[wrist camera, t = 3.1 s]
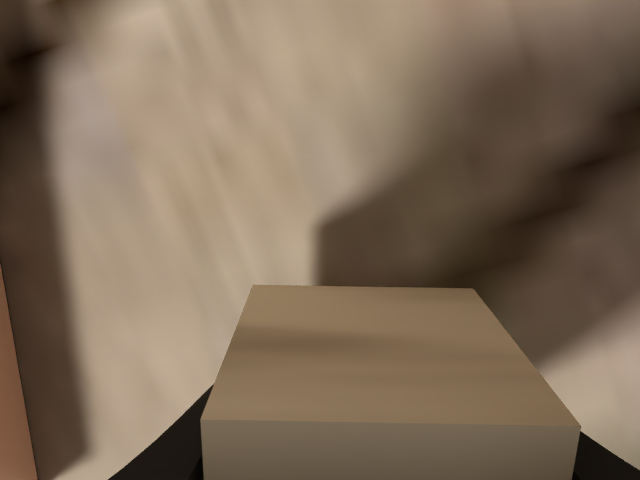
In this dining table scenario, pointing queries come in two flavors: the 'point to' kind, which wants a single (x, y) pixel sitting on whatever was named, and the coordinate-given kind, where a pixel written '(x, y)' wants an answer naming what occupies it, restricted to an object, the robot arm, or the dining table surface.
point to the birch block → (380, 391)
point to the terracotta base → (12, 407)
